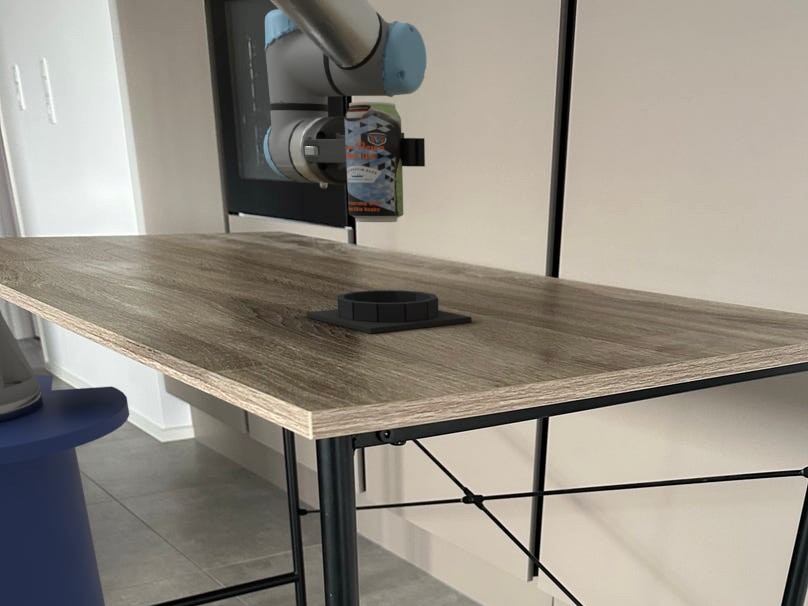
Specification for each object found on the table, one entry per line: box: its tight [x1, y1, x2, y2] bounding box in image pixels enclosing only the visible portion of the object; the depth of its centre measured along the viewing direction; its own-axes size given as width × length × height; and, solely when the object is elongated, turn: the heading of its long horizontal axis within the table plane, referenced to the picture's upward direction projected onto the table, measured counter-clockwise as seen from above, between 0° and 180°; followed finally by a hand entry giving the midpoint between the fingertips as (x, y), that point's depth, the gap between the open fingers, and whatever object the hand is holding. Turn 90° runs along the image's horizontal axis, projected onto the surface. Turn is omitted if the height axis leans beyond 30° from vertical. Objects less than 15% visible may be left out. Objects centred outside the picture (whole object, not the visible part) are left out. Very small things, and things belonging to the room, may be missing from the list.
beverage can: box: [344, 101, 404, 223], centre depth 102 cm, size 6×7×12 cm
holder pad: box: [306, 289, 472, 334], centre depth 110 cm, size 14×14×3 cm
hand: (416, 152), depth 101 cm, fingers closed on beverage can
